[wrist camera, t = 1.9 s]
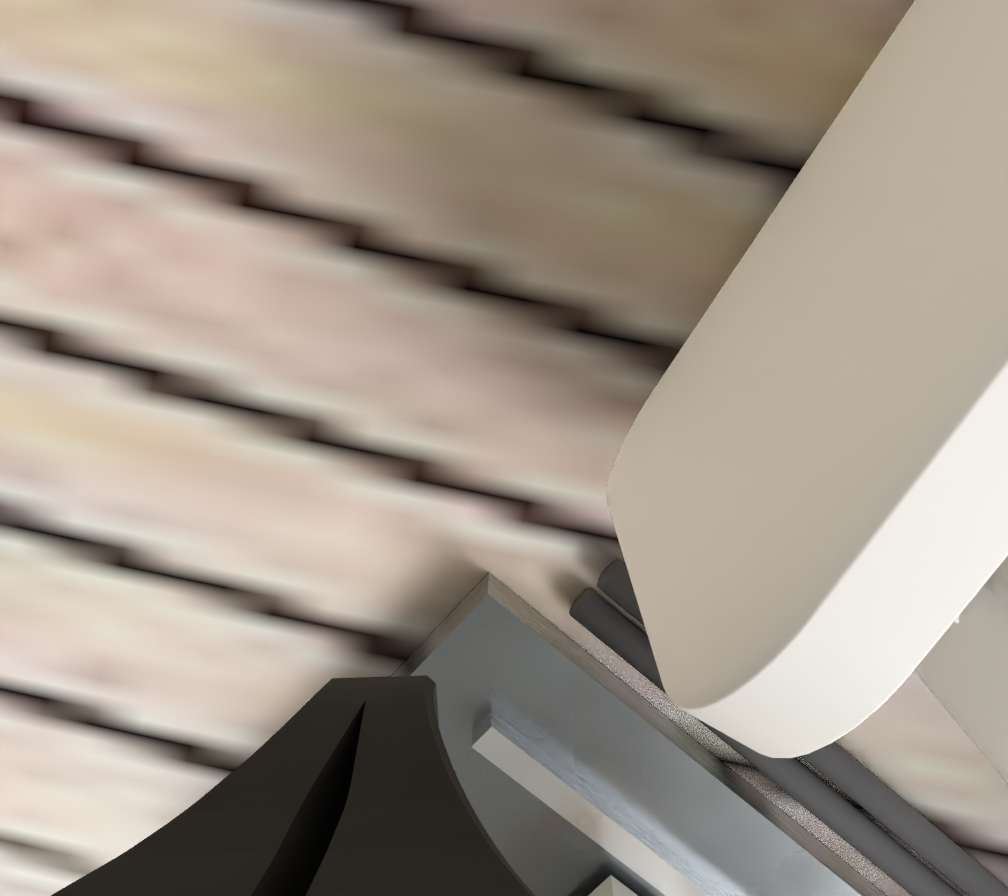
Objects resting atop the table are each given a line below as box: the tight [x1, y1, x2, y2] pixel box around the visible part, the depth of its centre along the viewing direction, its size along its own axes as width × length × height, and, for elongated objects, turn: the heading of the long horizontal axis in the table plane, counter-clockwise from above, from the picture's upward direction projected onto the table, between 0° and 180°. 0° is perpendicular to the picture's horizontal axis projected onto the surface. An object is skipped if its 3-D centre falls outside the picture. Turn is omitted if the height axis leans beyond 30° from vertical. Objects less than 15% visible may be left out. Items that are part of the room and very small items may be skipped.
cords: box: [570, 560, 1008, 896], centre depth 23 cm, size 15×2×1 cm, turn 49°
